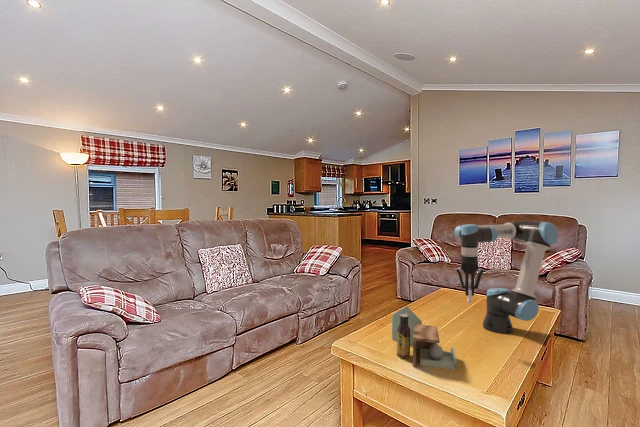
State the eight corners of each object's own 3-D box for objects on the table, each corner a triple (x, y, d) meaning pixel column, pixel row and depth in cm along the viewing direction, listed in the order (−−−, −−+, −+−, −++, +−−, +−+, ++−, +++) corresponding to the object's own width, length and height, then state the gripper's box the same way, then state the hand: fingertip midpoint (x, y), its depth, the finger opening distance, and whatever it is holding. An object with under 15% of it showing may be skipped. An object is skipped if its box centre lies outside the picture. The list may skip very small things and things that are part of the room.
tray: (453, 357, 156) (453, 346, 155) (456, 369, 144) (456, 358, 144) (420, 353, 160) (420, 343, 160) (420, 365, 148) (420, 354, 148)
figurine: (446, 358, 153) (446, 341, 152) (439, 363, 148) (440, 346, 147) (432, 353, 157) (432, 337, 157) (426, 358, 152) (426, 341, 152)
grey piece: (427, 343, 171) (427, 305, 171) (421, 348, 165) (421, 309, 165) (398, 335, 182) (398, 299, 181) (391, 339, 176) (392, 302, 175)
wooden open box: (436, 353, 160) (437, 326, 160) (439, 370, 144) (439, 340, 143) (413, 350, 163) (413, 323, 163) (412, 366, 147) (413, 337, 146)
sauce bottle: (394, 353, 160) (395, 312, 159) (407, 352, 161) (407, 312, 160) (399, 359, 154) (399, 317, 153) (412, 359, 154) (412, 317, 153)
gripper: (482, 254, 167) (482, 300, 168) (454, 253, 170) (454, 299, 171) (485, 257, 159) (485, 305, 160) (456, 256, 163) (456, 303, 164)
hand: (469, 302), depth 166 cm, fingers closed
